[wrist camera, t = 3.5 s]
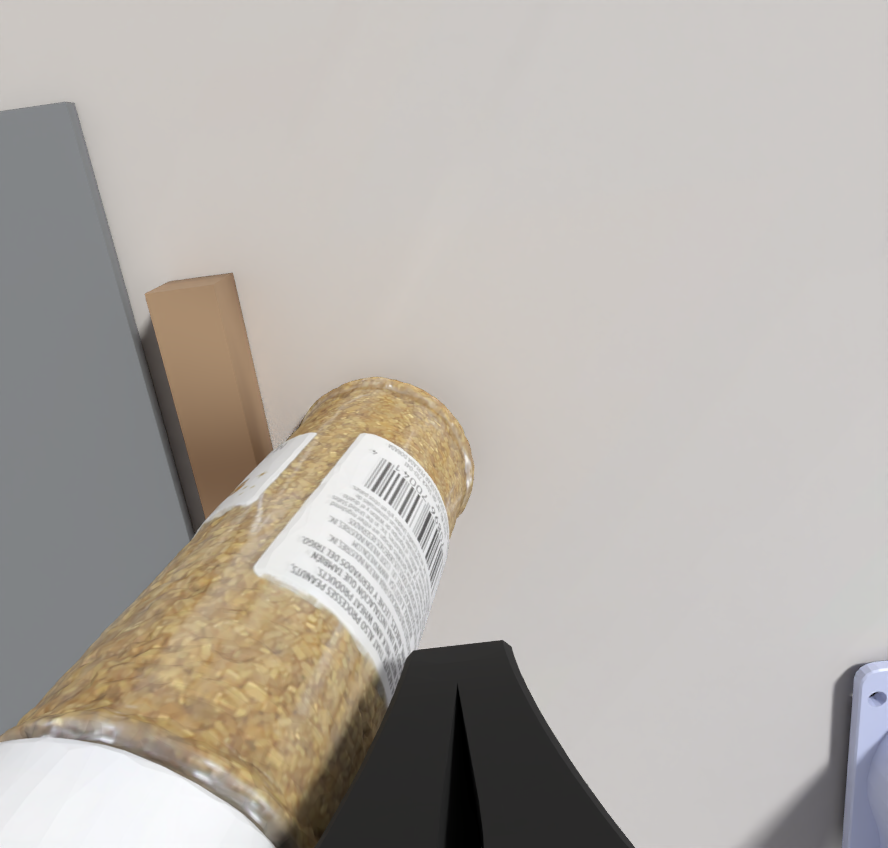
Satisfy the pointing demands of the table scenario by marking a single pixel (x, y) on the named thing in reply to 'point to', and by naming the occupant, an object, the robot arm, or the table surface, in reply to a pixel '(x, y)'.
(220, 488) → the walnut rail
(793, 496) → the table surface
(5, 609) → the rubber mat
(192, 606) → the sprinkles bottle
